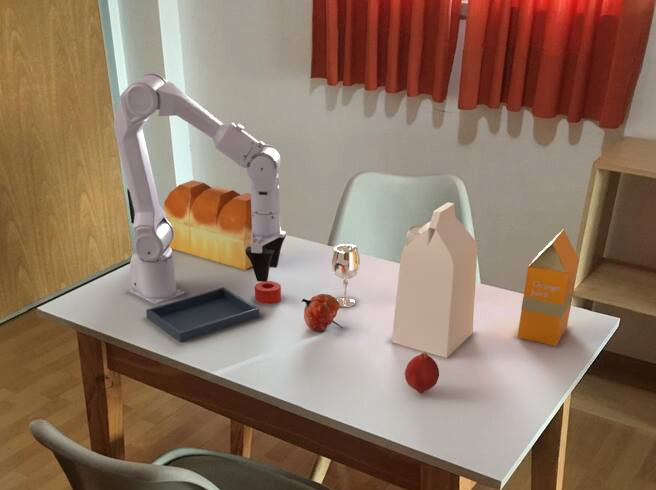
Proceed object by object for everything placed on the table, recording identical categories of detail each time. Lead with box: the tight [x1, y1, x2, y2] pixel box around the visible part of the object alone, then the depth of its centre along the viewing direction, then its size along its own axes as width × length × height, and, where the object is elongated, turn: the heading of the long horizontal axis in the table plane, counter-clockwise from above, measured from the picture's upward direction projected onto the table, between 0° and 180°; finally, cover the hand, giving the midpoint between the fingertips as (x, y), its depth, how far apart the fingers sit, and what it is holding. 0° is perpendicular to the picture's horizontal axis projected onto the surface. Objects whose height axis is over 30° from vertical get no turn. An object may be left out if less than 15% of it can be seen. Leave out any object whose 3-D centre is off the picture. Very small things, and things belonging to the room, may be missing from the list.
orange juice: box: [517, 228, 580, 347], centre depth 157 cm, size 8×9×20 cm
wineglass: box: [331, 244, 361, 308], centre depth 170 cm, size 6×6×12 cm
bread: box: [163, 179, 253, 271], centre depth 194 cm, size 25×12×15 cm, turn 55°
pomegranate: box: [300, 293, 344, 333], centre depth 161 cm, size 7×7×10 cm
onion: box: [404, 351, 440, 394], centre depth 140 cm, size 6×6×8 cm
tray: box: [145, 286, 261, 343], centre depth 166 cm, size 13×18×2 cm
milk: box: [391, 201, 478, 359], centre depth 153 cm, size 12×12×26 cm
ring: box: [254, 280, 282, 305], centre depth 173 cm, size 5×5×3 cm
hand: (267, 273), depth 171 cm, fingers open, 7 cm apart
